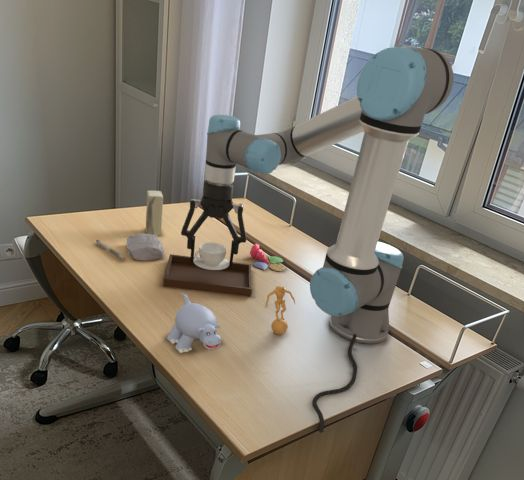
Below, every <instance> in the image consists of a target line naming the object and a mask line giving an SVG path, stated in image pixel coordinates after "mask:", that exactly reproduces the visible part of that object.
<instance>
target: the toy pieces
mask: <svg viewBox="0 0 524 480" xmlns="http://www.w3.org/2000/svg"><path fill="white" fill-rule="evenodd" d="M249 255H250V257H251V258H252V259H255V260H259V261H254V262H253V263H252V265H253V266H254V267H255V268H257V269H260V270H263V271H265V270H266V269H267V268H269V269H270V270H272V271H274V272H284V270H285V269H286V267H285V266H283V265H282V264H281V263H284V259H282V257H279V256H276V255H275V256H274V255H272V256H271V255H269V257H267V256H266V255H265V253H264V252H263V249H261V248H260V244H258V243H254V244H253V245H252V246H251V248H250V251H249ZM279 263H280V264H279ZM268 264H269V265H268Z"/></svg>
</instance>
